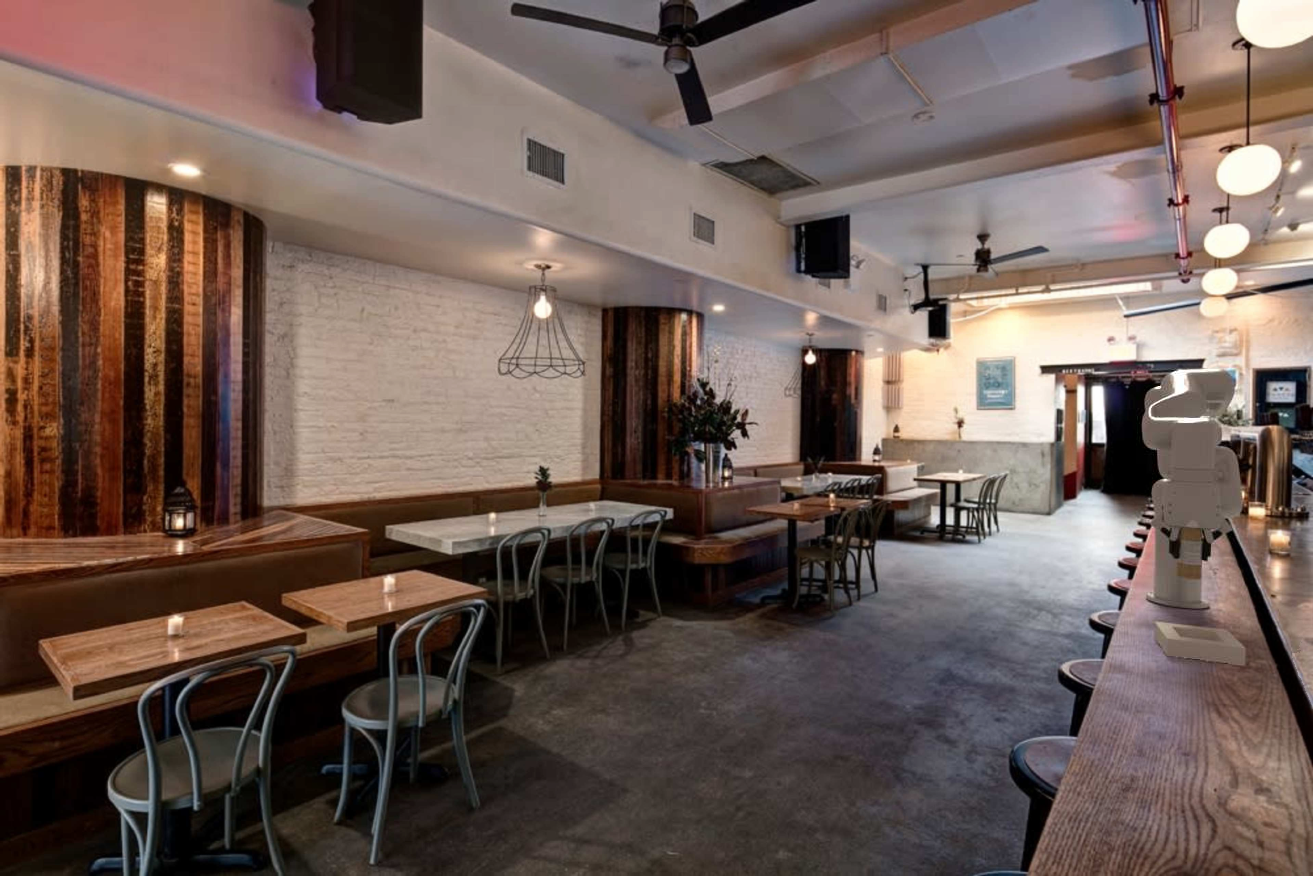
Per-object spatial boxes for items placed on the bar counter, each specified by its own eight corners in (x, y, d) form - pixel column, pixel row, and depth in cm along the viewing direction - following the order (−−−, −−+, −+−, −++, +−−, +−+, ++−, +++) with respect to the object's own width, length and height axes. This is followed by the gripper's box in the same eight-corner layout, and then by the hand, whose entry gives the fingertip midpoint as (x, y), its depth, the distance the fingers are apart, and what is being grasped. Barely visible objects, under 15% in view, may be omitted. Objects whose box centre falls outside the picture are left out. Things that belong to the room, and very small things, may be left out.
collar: (1154, 637, 142) (1154, 621, 142) (1226, 646, 136) (1226, 629, 136) (1166, 655, 131) (1167, 638, 131) (1245, 666, 126) (1245, 648, 126)
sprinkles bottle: (1178, 573, 150) (1180, 514, 149) (1204, 577, 146) (1206, 517, 145) (1173, 577, 147) (1174, 517, 146) (1199, 581, 143) (1201, 519, 143)
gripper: (1236, 476, 145) (1233, 558, 146) (1141, 473, 153) (1139, 551, 154) (1247, 480, 138) (1244, 566, 139) (1148, 476, 146) (1145, 558, 147)
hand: (1189, 557), depth 146 cm, fingers closed on sprinkles bottle, 4 cm apart
